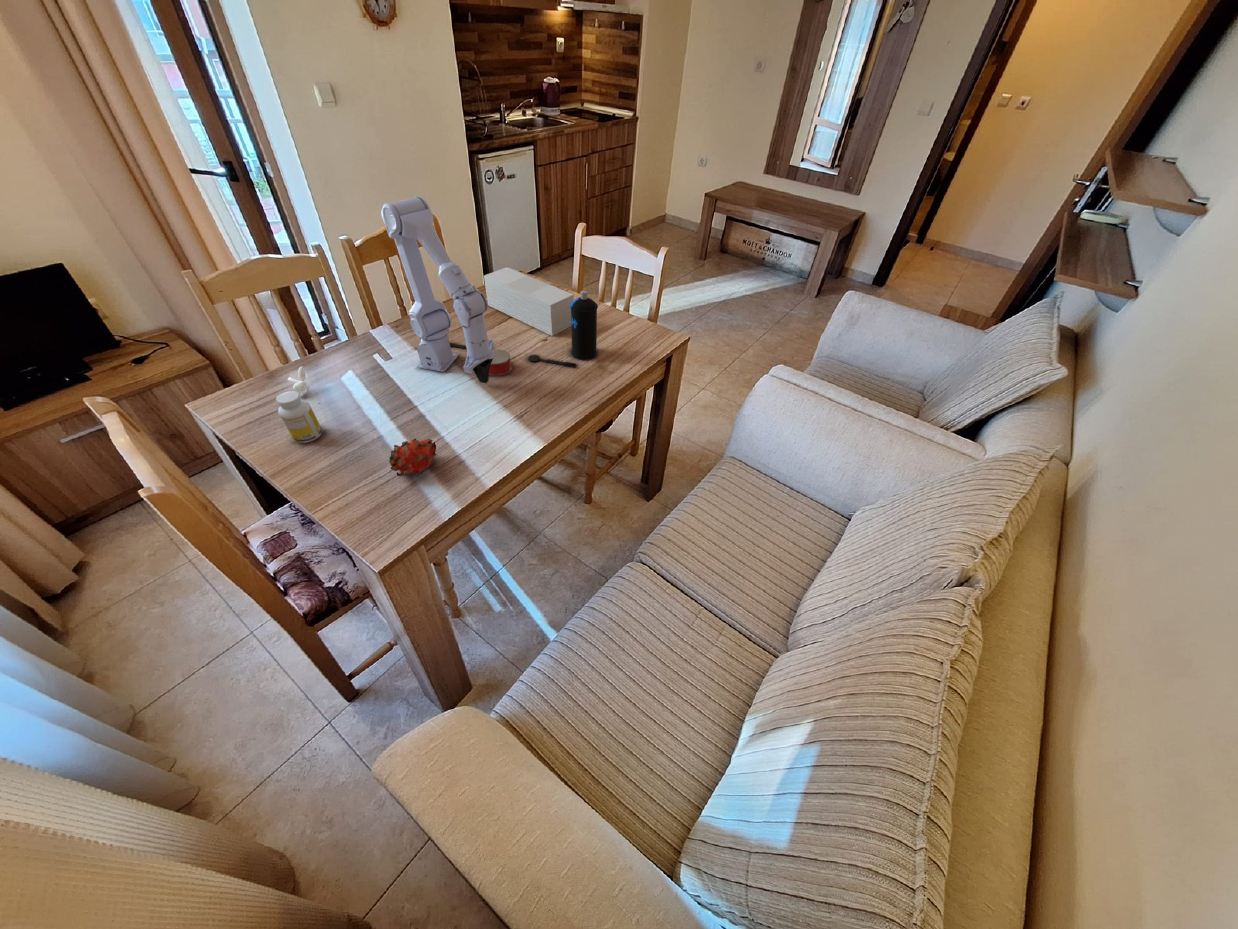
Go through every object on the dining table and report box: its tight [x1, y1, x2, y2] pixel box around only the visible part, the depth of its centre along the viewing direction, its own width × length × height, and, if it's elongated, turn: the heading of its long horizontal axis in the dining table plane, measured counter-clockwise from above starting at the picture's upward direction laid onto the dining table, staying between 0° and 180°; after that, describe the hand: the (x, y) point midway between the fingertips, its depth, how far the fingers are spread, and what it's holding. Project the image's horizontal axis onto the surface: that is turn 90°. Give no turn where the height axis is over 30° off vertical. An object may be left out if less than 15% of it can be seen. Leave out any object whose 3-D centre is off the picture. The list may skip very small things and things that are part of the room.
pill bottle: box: [275, 390, 323, 444], centre depth 113 cm, size 6×6×12 cm
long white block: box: [483, 266, 575, 337], centre depth 163 cm, size 32×11×11 cm, turn 51°
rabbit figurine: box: [287, 365, 309, 397], centre depth 128 cm, size 6×4×8 cm
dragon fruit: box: [388, 437, 437, 477], centre depth 108 cm, size 8×8×12 cm
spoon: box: [527, 354, 577, 368], centre depth 145 cm, size 4×15×1 cm, turn 77°
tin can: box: [489, 349, 513, 377], centre depth 140 cm, size 8×8×4 cm
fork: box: [449, 342, 467, 350], centre depth 149 cm, size 2×15×1 cm, turn 77°
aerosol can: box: [570, 290, 599, 361], centre depth 143 cm, size 8×8×20 cm
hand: (484, 381), depth 134 cm, fingers closed
